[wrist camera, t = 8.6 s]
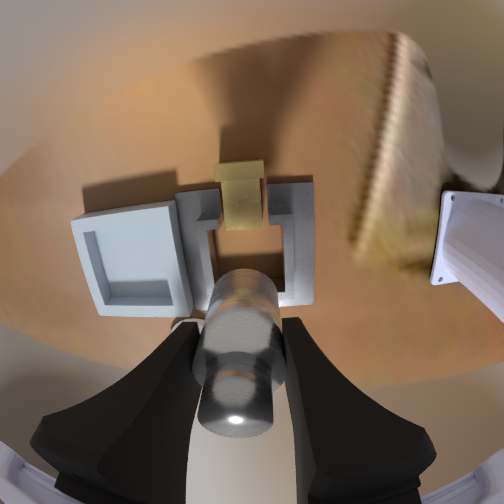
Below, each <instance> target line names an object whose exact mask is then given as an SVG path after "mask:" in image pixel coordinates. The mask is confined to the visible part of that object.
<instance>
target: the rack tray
mask: <svg viewBox="0 0 504 504" xmlns="http://www.w3.org/2000/svg"><path fill="white" fill-rule="evenodd" d="M70 222H71V226H72V230H73V235H74V238H75V242H76V246H77V250H78V253H79V257H80V260H81V264H82V267H83V270H84V273H85V276H86V280H87V283H88V286H89V288H90V291H91V294H92V297H93V300H94V302H95V305H96V308H97V310H98V313H99V315H103V316H129V317H190V315H191V312H192V309H193V307H194V302H193V297H192V292H191V288H190V283H189V278H188V272H187V267H186V262H185V256H184V251H183V245H182V240H181V234H180V228H179V221H178V215H177V208H176V201H175V200H171V201H163V202H155V203H148V204H140V205H133V206H127V207H120V208H114V209H108V210H102V211H96V212H90V213H84V214H82V215H80V216H79V217H77V218H75V219H73V220H71V221H70Z"/></svg>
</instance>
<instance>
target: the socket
mask: <svg viewBox="0 0 504 504" xmlns="http://www.w3.org/2000/svg"><path fill="white" fill-rule="evenodd" d="M266 188H267V202H268V217H269V225H281V237H282V261H283V278H276V279H271V281H272V282H273V283H274V285H275V287H276V289H277V293H278V301H279V307H282V306H296V305H308V304H313V295H314V185H313V182H294V183H275V184H266ZM175 201H176V208H177V215H178V221H179V228H180V234H181V240H182V245H183V251H184V256H185V262H186V267H187V272H188V278H189V283H190V288H191V292H192V297H193V302H194V307H195V310H207V309H208V306H209V302H210V299H211V295H212V292H213V288H214V286H215V284H216V282H217V281H218V280H219V271H218V264H217V257H216V250H215V242H214V235H213V229H220V227H221V224H222V222H223V212H222V202H221V193H220V188H212V189H202V190H193V191H185V192H177V193H175Z"/></svg>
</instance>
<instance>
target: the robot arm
mask: <svg viewBox="0 0 504 504" xmlns="http://www.w3.org/2000/svg"><path fill="white" fill-rule="evenodd" d="M451 196H453V197H452V200H451ZM439 278H440V279H439ZM457 281H460V282H461V283H462V284H463V285H464V286H465V287H467V288H468V289H469V290H470V291H471V292H472V293H473V294H474V295H475V296H476V297H478V298H479V299H480V300H481V301H482V302H483V303H484V304H485V305H486V306H487V307H488V308H489V309H490V310H491V311H492V312H493V313H494V314H495V315H496V316H497V317H498V318H499V319H500V320H501V321H502V322H503V323H504V195H499V194H488V193H476V192H462V191H444V192H443V194H442V201H441V212H440V222H439V230H438V237H437V244H436V250H435V256H434V262H433V267H432V272H431V277H430V282H431V283H432V284H433V285H439V284H445V283H451V282H457ZM282 336H283V346H284V355H285V364H286V377H285V386H286V391H287V397H288V402H289V408H290V413H291V418H292V424H293V431H294V445H295V463H296V485H297V504H504V448H502V449H501V450H500V451H498V452H497V453H495V454H494V455H492V456H491V457H489V458H488V459H486V460H485V461H484V462H482V463H481V464H480V465H479V466H478V467H477V468H475V470H474V471H472V472H470V473H469V474H467V475H465V476H463V477H461V478H460V479H458V480H456V481H454V482H452V483H450V484H448V485H446V486H444V487H442V488H440V489H437V490H435V491H433V492H431V493H429V494H426V495H424V496H421V497H420V495H419V491H418V487H420V485H421V482H420V479H419V475H420V474H421V473H422V472H423V471H425V470H426V469H427V468H428V467H429V466H430V465H431V464H432V463H433V461H434V460H435V458H436V455H437V453H436V451H435V448H434V446H433V443H432V441H431V440H430V437H429V436H428V434H427V432H426V431H425V429H424V428H423V427H420V426H418V425H416V424H414V423H412V422H409V421H407V420H405V419H403V418H401V417H399V416H397V415H396V414H394V413H392V412H391V411H389V410H387V409H385V408H384V407H383V406H381V405H379V404H378V403H377V402H375V401H374V400H372V399H371V398H370V397H368V396H367V395H366V394H364V393H363V392H362V391H361V390H359V389H358V388H357V387H356V386H355V385H353V384H352V383H351V382H350V381H349V380H348V379H347V378H346V377H345V376H344V375H343V374H342V373H341V372H340V371H339V370H338V369H337V368H336V367H335V366H334V365H333V364H332V363H331V362H330V360H329V359H328V358H327V357H326V356H325V355H324V353H323V352H322V351H321V349H320V348H319V347H318V346H317V344H316V343H315V341H314V340H313V339H312V337H311V336H310V334H309V333H308V331H307V330H306V328H305V326H304V324H303V323H302V321H301V319H300V318H299V317H293V318H282ZM199 338H200V332H199V327H198V323H197V322H182V323H181V324H180V325H179V326H178V327H177V328H176V329H175V330H174V331H173V332H172V333H171V334H170V335H169V336H168V337H167V338H166V339H165V340H164V341H163V342H162V343H161V344H160V345H159V346H158V347H157V348H156V349H155V350H154V351H153V352H152V353H151V354H150V355H149V356H148V357H147V358H146V359H144V360H143V361H142V362H141V363H140V364H139V365H138V366H137V367H136V368H134V369H133V370H132V371H131V372H129V373H128V374H127V375H126V376H124V377H123V378H122V379H120V380H119V381H117V382H116V383H115V384H113V385H112V386H110V387H108V388H107V389H105V390H103V391H102V392H100V393H98V394H97V395H95V396H93V397H91V398H89V399H87V400H85V401H83V402H81V403H79V404H77V405H75V406H72V407H70V408H67V409H65V410H62V411H59V412H56V413H53V414H50V415H47V416H44V417H43V418H42V420H41V422H40V424H39V425H38V427H37V429H36V431H35V432H34V434H33V436H32V438H31V440H30V445H31V447H32V448H33V449H34V450H35V452H36V453H38V454H39V455H40V456H41V457H42V458H43V459H44V460H46V461H47V462H48V463H49V464H50V465H51V466H53V467H54V468H55V469H56V470H58V471H59V472H60V473H59V475H58V477H57V479H55V478H53V477H51V476H49V475H47V474H46V473H44V472H42V471H40V470H38V469H37V468H35V467H33V466H32V465H30V464H29V463H27V462H26V461H24V459H23V458H22V457H20V456H19V455H18V454H17V453H16V452H15V451H13V450H12V449H11V448H9V447H8V446H7V445H5V444H4V443H2V442H1V441H0V499H1V500H2V501H3V502H4V503H5V504H186V474H187V462H188V451H189V443H190V434H191V429H192V424H193V421H194V417H195V412H196V409H197V405H198V401H199V397H200V393H201V389H202V386H201V385H200V384H199V383H198V382H197V380H196V379H195V377H194V374H193V370H192V364H193V360H194V356H195V352H196V349H197V345H198V341H199Z"/></svg>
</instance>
